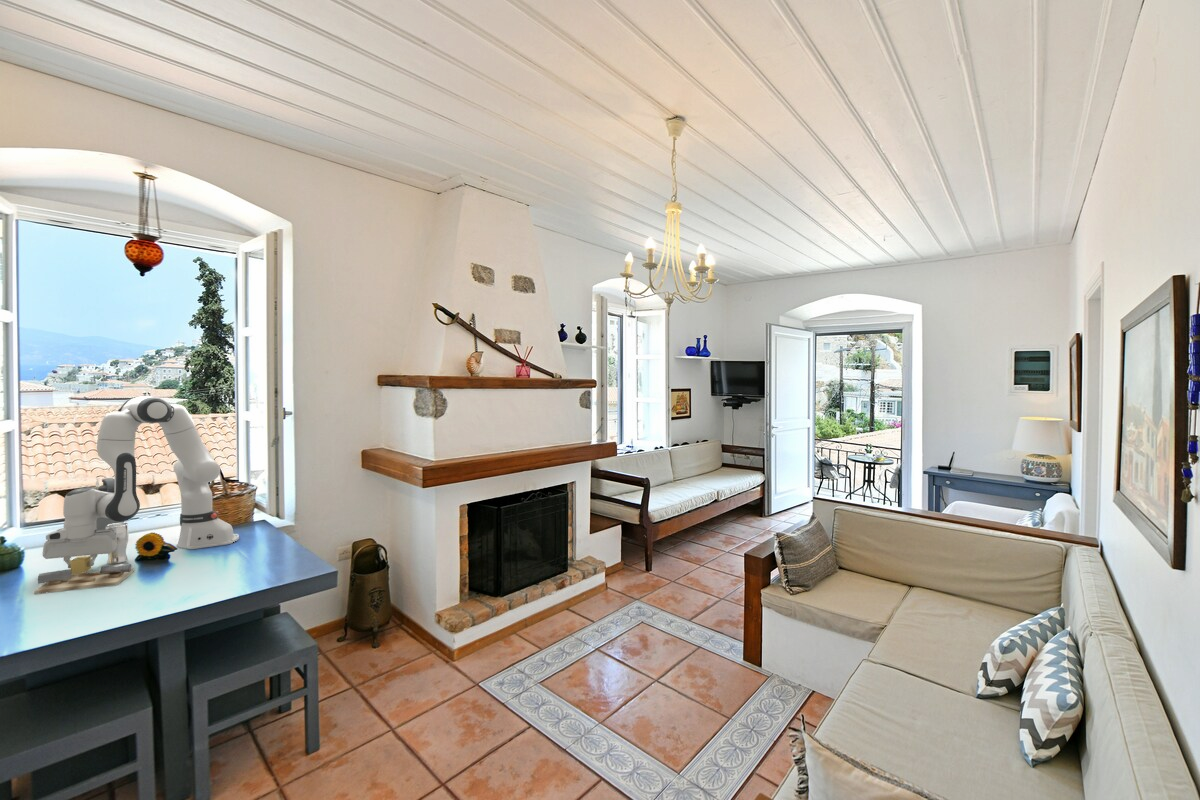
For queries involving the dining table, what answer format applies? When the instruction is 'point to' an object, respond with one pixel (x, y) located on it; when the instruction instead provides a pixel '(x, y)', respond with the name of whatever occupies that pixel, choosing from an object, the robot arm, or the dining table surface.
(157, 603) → the dining table surface
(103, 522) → the water bottle
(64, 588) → the board
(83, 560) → the yellow block
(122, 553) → the beer glass
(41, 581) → the shafts
